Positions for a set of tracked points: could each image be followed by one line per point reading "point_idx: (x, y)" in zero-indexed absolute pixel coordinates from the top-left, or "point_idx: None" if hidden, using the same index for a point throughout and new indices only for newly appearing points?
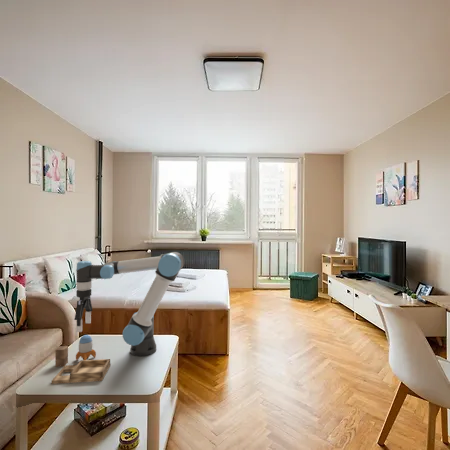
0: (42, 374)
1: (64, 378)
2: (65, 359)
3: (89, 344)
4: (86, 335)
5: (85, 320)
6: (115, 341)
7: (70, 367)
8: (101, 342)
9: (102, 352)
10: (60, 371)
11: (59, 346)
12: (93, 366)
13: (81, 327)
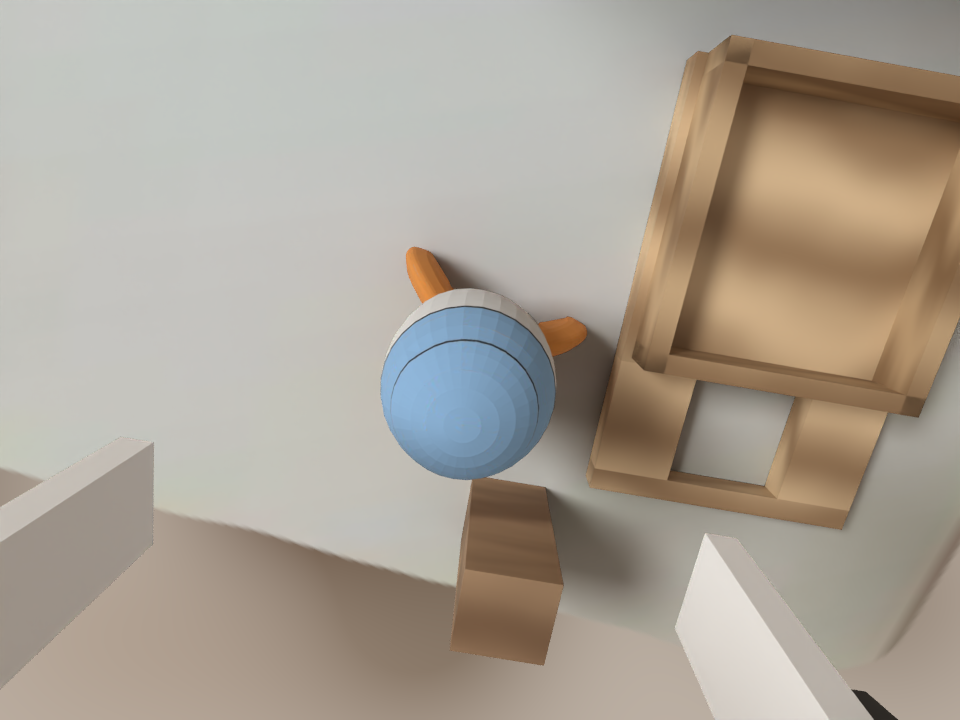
0: (636, 606)
1: (848, 444)
2: (526, 510)
3: (532, 326)
4: (472, 413)
5: (103, 590)
6: (15, 66)
7: (650, 436)
8: (37, 235)
9: (317, 190)
10: (699, 499)
11: (452, 648)
12: (710, 230)
13: (790, 614)
